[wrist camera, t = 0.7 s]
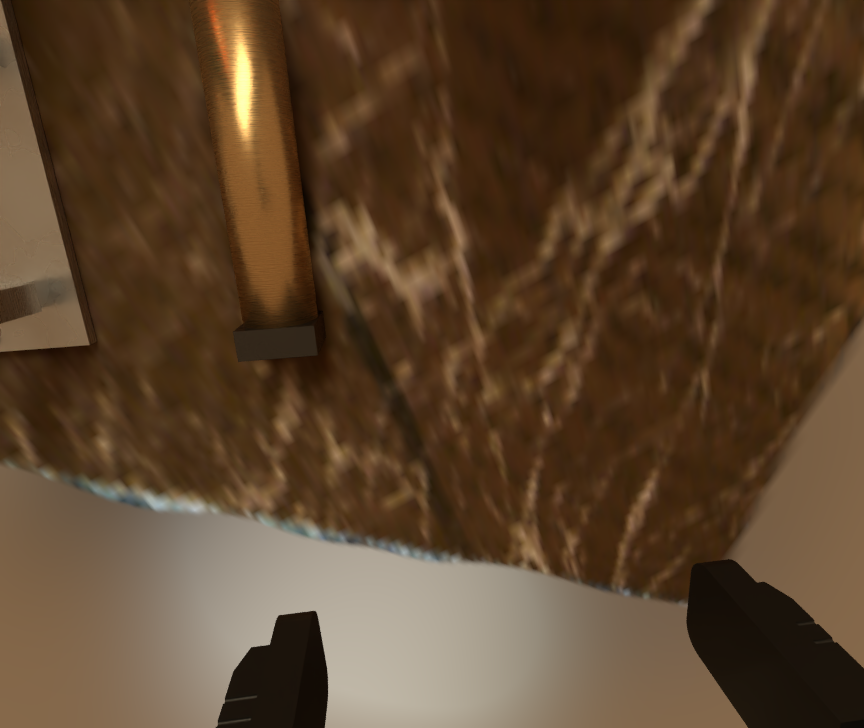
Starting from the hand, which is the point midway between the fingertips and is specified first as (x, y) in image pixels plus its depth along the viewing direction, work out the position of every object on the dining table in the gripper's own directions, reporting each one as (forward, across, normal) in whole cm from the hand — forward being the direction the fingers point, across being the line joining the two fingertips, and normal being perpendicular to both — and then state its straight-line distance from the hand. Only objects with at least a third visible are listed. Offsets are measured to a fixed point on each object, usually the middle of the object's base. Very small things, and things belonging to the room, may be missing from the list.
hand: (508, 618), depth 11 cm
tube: (+22, +8, -11) cm, 26 cm away
